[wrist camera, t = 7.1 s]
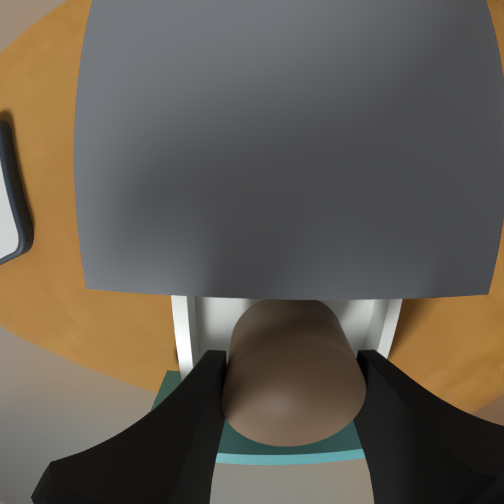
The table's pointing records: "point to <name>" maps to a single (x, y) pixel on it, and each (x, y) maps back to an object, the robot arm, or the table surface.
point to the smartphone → (12, 203)
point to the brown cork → (290, 374)
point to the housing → (290, 148)
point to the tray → (218, 338)
